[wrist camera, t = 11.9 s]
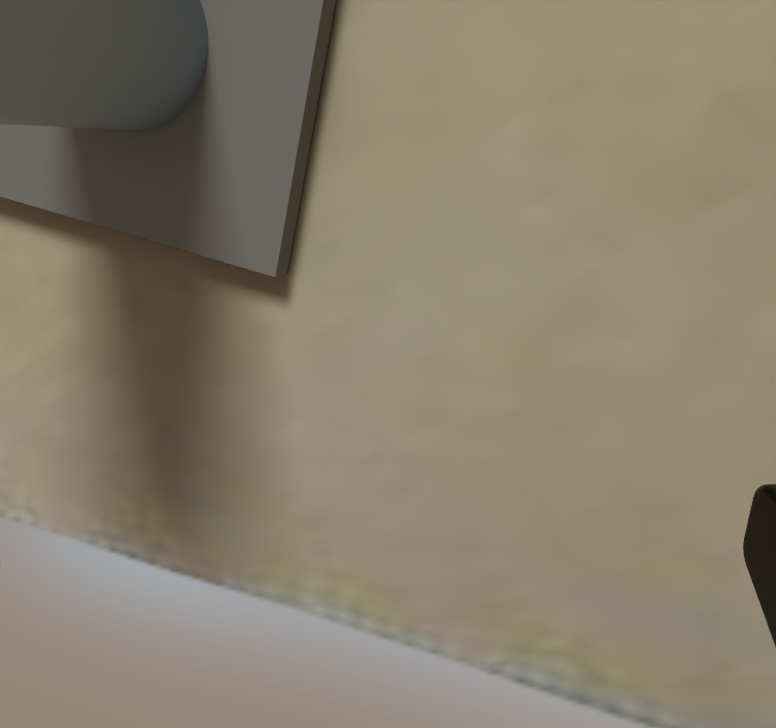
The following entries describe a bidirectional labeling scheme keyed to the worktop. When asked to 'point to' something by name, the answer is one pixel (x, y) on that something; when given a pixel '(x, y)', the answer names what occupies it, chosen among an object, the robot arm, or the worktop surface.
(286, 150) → the gray base plate
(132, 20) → the slate peg
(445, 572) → the worktop surface
